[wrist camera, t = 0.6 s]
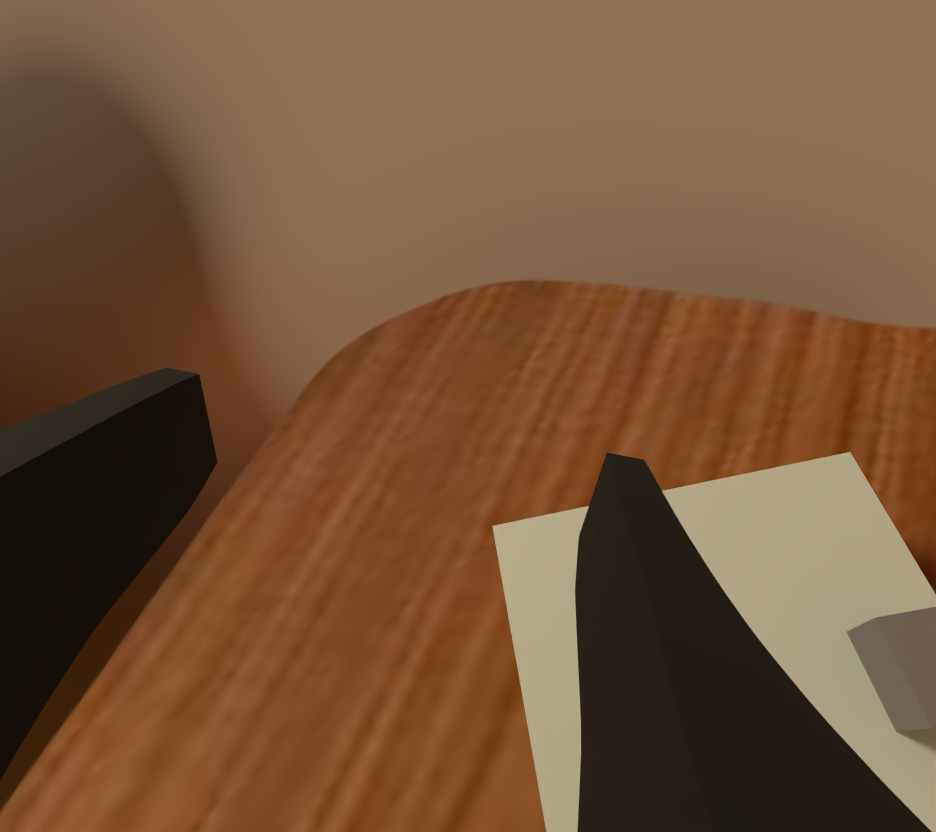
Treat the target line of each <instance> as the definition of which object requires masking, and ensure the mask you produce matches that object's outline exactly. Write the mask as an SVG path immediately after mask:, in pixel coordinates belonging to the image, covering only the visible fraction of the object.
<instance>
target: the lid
mask: <svg viewBox="0 0 936 832" xmlns="http://www.w3.org/2000/svg"><path fill="white" fill-rule="evenodd" d="M662 492H663V494H664V495H665V497H666V499H667V501H668V502H669V504H670V506H671V508H672V509H673V511H674V513H675V514H676V516H677V518H678V520H679V521H680V523H681V525H682V526H683V528H684V530H685V531H686V533H687V535H688V536H689V538H690V539H691V541H692V543H693V544H694V546H695V547H696V549H697V550H698V552H699V554H700V555H701V557H702V558H703V560H704V561H705V563H706V565H707V566H708V568H709V569H710V571H711V572H712V574H713V575H714V577H715V578H716V580H717V581H718V583H719V584H720V586H721V587H722V589H723V590H724V592H725V593H726V595H727V596H728V598H729V599H730V600H731V602H732V603H733V605H734V606H735V607H736V609H737V610H738V612H739V613H740V614H741V616H742V617H743V619H744V620H745V621H746V623H747V624H748V626H749V627H750V628H751V630H752V631H753V632H754V633H755V635H756V636H757V637H758V639H759V640H760V641H761V643H762V644H763V645H764V646H765V648H766V649H767V650H768V651H769V653H770V654H771V655H772V656H773V658H774V659H775V660H776V661H777V662H778V664H779V665H780V666H781V667H782V669H783V670H784V671H785V672H786V673H787V675H788V676H789V677H790V678H791V680H792V681H793V682H794V683H795V684H796V686H797V687H798V688H799V689H800V691H801V692H802V693H803V694H804V695H805V697H806V698H807V699H808V700H809V701H810V702H811V703H812V705H813V706H814V707H815V708H816V709H817V710H818V711H819V713H820V714H821V715H822V716H823V717H824V718H825V719H826V721H827V722H828V723H829V724H830V725H831V726H832V727H833V728H834V730H835V731H836V732H837V733H838V734H839V735H840V736H841V737H842V738H843V739H844V740H845V741H846V743H847V744H848V745H849V746H850V747H851V748H852V749H853V750H854V751H855V752H856V753H857V754H858V755H859V757H860V758H861V759H862V760H863V761H864V762H865V763H866V764H867V765H868V766H869V767H870V768H871V770H872V771H873V772H874V773H875V774H876V775H877V776H878V777H879V778H880V779H881V780H882V781H883V782H884V783H885V785H886V786H887V787H888V788H889V789H890V790H891V791H892V792H893V793H894V794H895V795H896V796H897V797H898V798H899V799H900V800H901V801H902V802H903V803H904V804H905V805H906V806H907V807H908V808H909V809H910V810H911V811H912V812H913V813H914V814H915V815H916V816H917V817H918V818H919V819H920V820H921V821H922V822H923V823H924V824H925V825H926V826H927V827H928V828H929V829H930V830H931V831H932V832H936V594H935V592H934V591H933V589H932V588H931V586H930V584H929V583H928V581H927V579H926V578H925V576H924V574H923V573H922V571H921V569H920V568H919V566H918V564H917V563H916V561H915V559H914V558H913V556H912V554H911V553H910V551H909V549H908V548H907V546H906V544H905V543H904V541H903V539H902V538H901V536H900V534H899V533H898V531H897V529H896V528H895V526H894V524H893V523H892V521H891V519H890V518H889V516H888V514H887V513H886V511H885V509H884V508H883V506H882V504H881V503H880V501H879V499H878V498H877V496H876V494H875V493H874V491H873V489H872V488H871V486H870V484H869V483H868V481H867V479H866V478H865V476H864V474H863V473H862V471H861V469H860V468H859V466H858V465H857V463H856V461H855V460H854V458H853V456H852V455H851V453H850V452H848V453H844V454H839V455H834V456H829V457H824V458H819V459H814V460H810V461H805V462H800V463H795V464H790V465H785V466H781V467H776V468H771V469H766V470H761V471H756V472H752V473H747V474H742V475H737V476H732V477H727V478H723V479H718V480H713V481H708V482H703V483H698V484H693V485H689V486H684V487H679V488H674V489H669V490H664V491H662ZM588 508H589V506H587V507H582V508H577V509H572V510H568V511H563V512H558V513H553V514H548V515H543V516H539V517H534V518H529V519H524V520H519V521H514V522H509V523H505V524H500V525H495V526H493V531H494V537H495V543H496V548H497V554H498V560H499V565H500V571H501V577H502V582H503V588H504V594H505V599H506V605H507V611H508V616H509V622H510V628H511V633H512V639H513V645H514V650H515V656H516V662H517V667H518V673H519V679H520V684H521V690H522V696H523V701H524V707H525V713H526V718H527V724H528V730H529V735H530V741H531V747H532V752H533V758H534V764H535V769H536V775H537V781H538V786H539V792H540V798H541V803H542V809H543V814H544V820H545V826H546V831H547V832H577V829H578V809H579V787H580V764H581V714H580V693H579V672H578V651H577V629H576V606H575V581H576V566H577V553H578V541H579V534H580V531H581V528H582V525H583V522H584V519H585V516H586V514H587V511H588Z"/></svg>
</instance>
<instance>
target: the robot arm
mask: <svg viewBox="0 0 936 832" xmlns="http://www.w3.org/2000/svg"><path fill="white" fill-rule="evenodd" d="M216 463H217V458H216V453H215V449H214V444H213V439H212V434H211V429H210V424H209V420H208V415H207V410H206V405H205V400H204V395H203V390H202V386H201V381H200V376H199V374H196V373H191V372H186V371H181V370H175V369H170V368H165V369H161V370H158V371H155V372H152V373H148V374H146V375H143V376H140V377H137V378H134V379H131V380H129V381H126V382H123V383H121V384H118V385H116V386H113V387H110V388H108V389H105V390H103V391H100V392H98V393H95V394H93V395H90V396H87V397H85V398H83V399H80V400H77V401H75V402H72V403H70V404H67V405H64V406H62V407H59V408H57V409H54V410H52V411H49V412H46V413H44V414H41V415H39V416H36V417H34V418H31V419H29V420H26V421H23V422H21V423H17V424H15V425H12V426H9V427H7V428H4V429H1V430H0V780H1V778H2V777H3V775H4V773H5V771H6V769H7V768H8V766H9V764H10V762H11V761H12V759H13V757H14V755H15V754H16V752H17V750H18V749H19V747H20V745H21V744H22V742H23V741H24V739H25V737H26V736H27V734H28V732H29V731H30V729H31V727H32V726H33V724H34V723H35V721H36V719H37V717H38V716H39V714H40V713H41V711H42V709H43V708H44V706H45V705H46V703H47V701H48V700H49V698H50V696H51V695H52V693H53V692H54V690H55V688H56V687H57V685H58V684H59V682H60V681H61V679H62V678H63V676H64V675H65V673H66V671H67V670H68V669H69V667H70V665H71V664H72V662H73V661H74V659H75V658H76V656H77V655H78V653H79V652H80V650H81V649H82V647H83V646H84V644H85V642H86V641H87V639H88V638H89V637H90V635H91V634H92V633H93V631H94V630H95V629H96V627H97V626H98V624H99V623H100V622H101V620H102V619H103V618H104V616H105V615H106V614H107V612H108V611H109V610H110V609H111V607H112V606H113V605H114V604H115V602H116V601H117V600H118V598H119V597H120V596H121V595H122V594H123V592H124V591H125V590H126V589H127V587H128V586H129V585H130V584H131V582H132V581H133V580H134V578H135V577H136V576H137V575H138V574H139V572H140V571H141V570H142V569H143V567H144V566H145V565H146V564H147V563H148V561H149V560H150V559H151V558H152V556H153V555H154V554H155V553H156V551H157V550H158V549H159V548H160V546H161V545H162V544H163V543H164V541H165V540H166V539H167V538H168V536H169V535H170V534H171V532H172V531H173V530H174V528H175V527H176V526H177V525H178V523H179V522H180V521H181V520H182V518H183V517H184V516H185V514H186V513H187V512H188V511H189V509H190V508H191V506H192V505H193V503H194V501H195V500H196V498H197V496H198V495H199V493H200V492H201V490H202V488H203V487H204V485H205V483H206V481H207V479H208V478H209V476H210V474H211V472H212V471H213V469H214V467H215V465H216ZM575 606H576V629H577V651H578V672H579V693H580V714H581V764H580V787H579V809H578V829H577V832H932V831H931V830H930V829H929V828H928V827H927V826H926V825H925V824H924V823H923V822H922V821H921V820H920V819H919V818H918V817H917V816H916V815H915V814H914V813H913V812H912V811H911V810H910V809H909V808H908V807H907V806H906V805H905V804H904V803H903V802H902V801H901V800H900V799H899V798H898V797H897V796H896V795H895V794H894V793H893V792H892V791H891V790H890V789H889V788H888V787H887V786H886V785H885V783H884V782H883V781H882V780H881V779H880V778H879V777H878V776H877V775H876V774H875V773H874V772H873V771H872V770H871V768H870V767H869V766H868V765H867V764H866V763H865V762H864V761H863V760H862V759H861V758H860V757H859V755H858V754H857V753H856V752H855V751H854V750H853V749H852V748H851V747H850V746H849V745H848V744H847V743H846V741H845V740H844V739H843V738H842V737H841V736H840V735H839V734H838V733H837V732H836V731H835V730H834V728H833V727H832V726H831V725H830V724H829V723H828V722H827V721H826V719H825V718H824V717H823V716H822V715H821V714H820V713H819V711H818V710H817V709H816V708H815V707H814V706H813V705H812V703H811V702H810V701H809V700H808V699H807V698H806V697H805V695H804V694H803V693H802V692H801V691H800V689H799V688H798V687H797V686H796V684H795V683H794V682H793V681H792V680H791V678H790V677H789V676H788V675H787V673H786V672H785V671H784V670H783V669H782V667H781V666H780V665H779V664H778V662H777V661H776V660H775V659H774V658H773V656H772V655H771V654H770V653H769V651H768V650H767V649H766V648H765V646H764V645H763V644H762V643H761V641H760V640H759V639H758V637H757V636H756V635H755V633H754V632H753V631H752V630H751V628H750V627H749V626H748V624H747V623H746V621H745V620H744V619H743V617H742V616H741V614H740V613H739V612H738V610H737V609H736V607H735V606H734V605H733V603H732V602H731V600H730V599H729V598H728V596H727V595H726V593H725V592H724V590H723V589H722V587H721V586H720V584H719V583H718V581H717V580H716V578H715V577H714V575H713V574H712V572H711V571H710V569H709V568H708V566H707V565H706V563H705V561H704V560H703V558H702V557H701V555H700V554H699V552H698V550H697V549H696V547H695V546H694V544H693V543H692V541H691V539H690V538H689V536H688V535H687V533H686V531H685V530H684V528H683V526H682V525H681V523H680V521H679V520H678V518H677V516H676V514H675V513H674V511H673V509H672V508H671V506H670V504H669V502H668V501H667V499H666V497H665V495H664V494H663V492H662V490H661V488H660V487H659V485H658V483H657V481H656V479H655V478H654V476H653V474H652V472H651V471H650V469H649V467H648V466H647V464H646V462H645V461H644V460H642V459H637V458H632V457H627V456H621V455H616V454H611V453H607V454H606V457H605V460H604V463H603V466H602V469H601V472H600V475H599V478H598V481H597V484H596V487H595V490H594V493H593V496H592V499H591V502H590V505H589V508H588V511H587V514H586V516H585V519H584V522H583V525H582V528H581V531H580V534H579V541H578V553H577V566H576V581H575Z"/></svg>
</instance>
